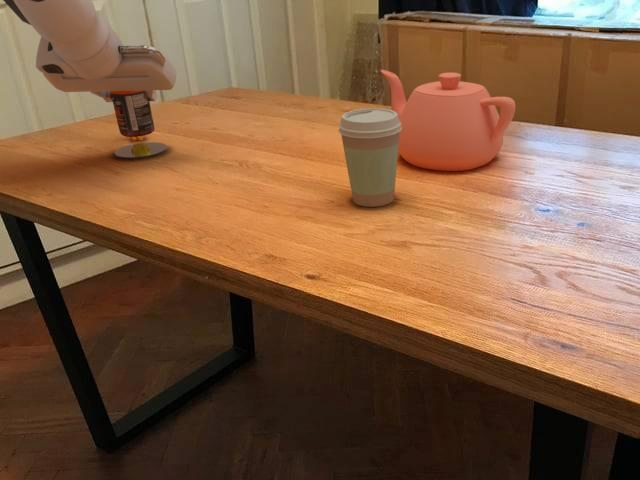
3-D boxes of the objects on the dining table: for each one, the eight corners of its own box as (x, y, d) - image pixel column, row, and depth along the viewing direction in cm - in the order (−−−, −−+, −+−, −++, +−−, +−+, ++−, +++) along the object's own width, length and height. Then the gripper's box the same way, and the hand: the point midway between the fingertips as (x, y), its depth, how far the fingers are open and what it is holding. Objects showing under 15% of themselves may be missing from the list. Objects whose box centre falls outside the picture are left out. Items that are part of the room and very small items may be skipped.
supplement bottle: (114, 133, 117) (99, 67, 112) (146, 127, 120) (132, 62, 115) (128, 140, 113) (113, 71, 108) (161, 132, 116) (147, 66, 111)
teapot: (354, 157, 111) (349, 75, 105) (412, 133, 122) (411, 58, 116) (484, 184, 97) (487, 92, 91) (535, 155, 109) (542, 70, 102)
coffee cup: (395, 186, 98) (393, 105, 92) (410, 207, 91) (408, 119, 85) (339, 192, 97) (333, 110, 91) (348, 214, 89) (343, 125, 84)
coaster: (104, 155, 117) (103, 153, 117) (142, 142, 124) (142, 140, 124) (140, 162, 113) (139, 159, 113) (178, 147, 120) (177, 145, 120)
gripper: (159, 28, 101) (192, 81, 114) (32, 32, 103) (79, 83, 116) (153, 64, 99) (187, 113, 113) (25, 67, 101) (73, 115, 114)
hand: (131, 98), depth 114 cm, fingers closed on supplement bottle, 6 cm apart
